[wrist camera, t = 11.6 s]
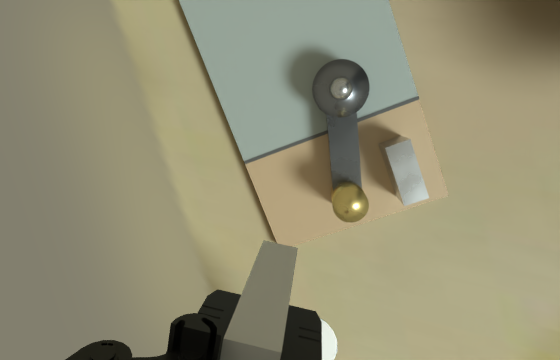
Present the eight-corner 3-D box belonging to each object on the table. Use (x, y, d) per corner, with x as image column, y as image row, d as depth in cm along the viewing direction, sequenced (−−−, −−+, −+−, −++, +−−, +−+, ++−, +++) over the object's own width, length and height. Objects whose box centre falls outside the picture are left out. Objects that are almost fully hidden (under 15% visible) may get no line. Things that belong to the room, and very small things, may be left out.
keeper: (400, 135, 30) (410, 139, 27) (417, 188, 31) (429, 198, 28) (378, 143, 31) (384, 148, 28) (395, 196, 32) (404, 206, 28)
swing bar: (310, 66, 30) (309, 60, 26) (363, 59, 29) (370, 52, 25) (323, 209, 32) (324, 224, 28) (372, 205, 32) (380, 220, 28)
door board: (359, -81, 28) (361, -90, 27) (444, 192, 32) (449, 195, 31) (183, 2, 31) (177, -3, 30) (281, 245, 35) (279, 250, 34)
